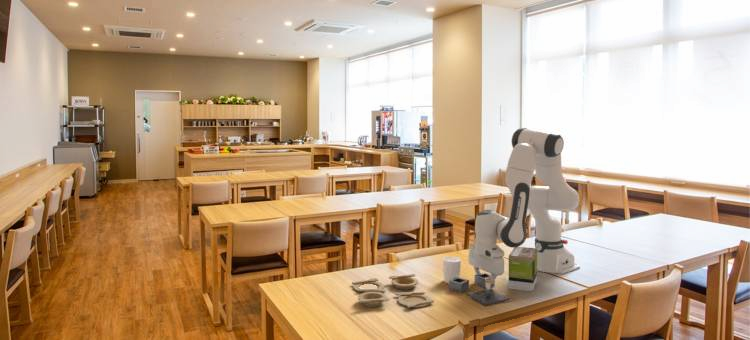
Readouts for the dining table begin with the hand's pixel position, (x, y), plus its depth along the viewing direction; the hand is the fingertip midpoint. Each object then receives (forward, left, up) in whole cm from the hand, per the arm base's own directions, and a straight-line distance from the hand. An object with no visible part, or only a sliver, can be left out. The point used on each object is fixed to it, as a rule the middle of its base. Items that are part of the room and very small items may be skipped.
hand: (485, 279), depth 208 cm
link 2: (0, -1, -2) cm, 3 cm away
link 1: (+13, -1, -2) cm, 13 cm away
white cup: (+10, -11, -3) cm, 15 cm away
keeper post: (+8, +12, -2) cm, 15 cm away
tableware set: (+41, -9, -3) cm, 42 cm away
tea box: (-15, +6, -3) cm, 17 cm away
